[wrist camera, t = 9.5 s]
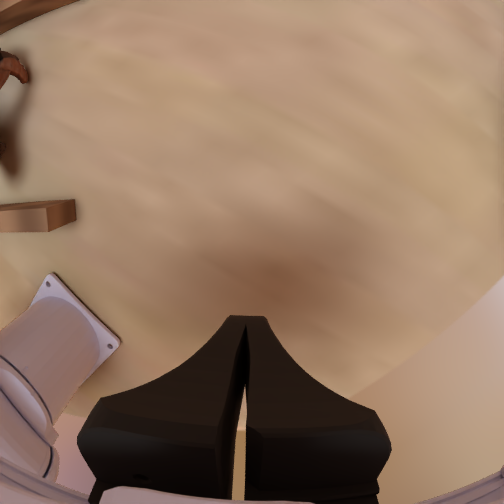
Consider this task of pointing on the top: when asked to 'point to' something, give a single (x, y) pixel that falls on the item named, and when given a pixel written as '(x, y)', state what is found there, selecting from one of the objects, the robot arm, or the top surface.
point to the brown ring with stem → (8, 64)
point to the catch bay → (44, 212)
